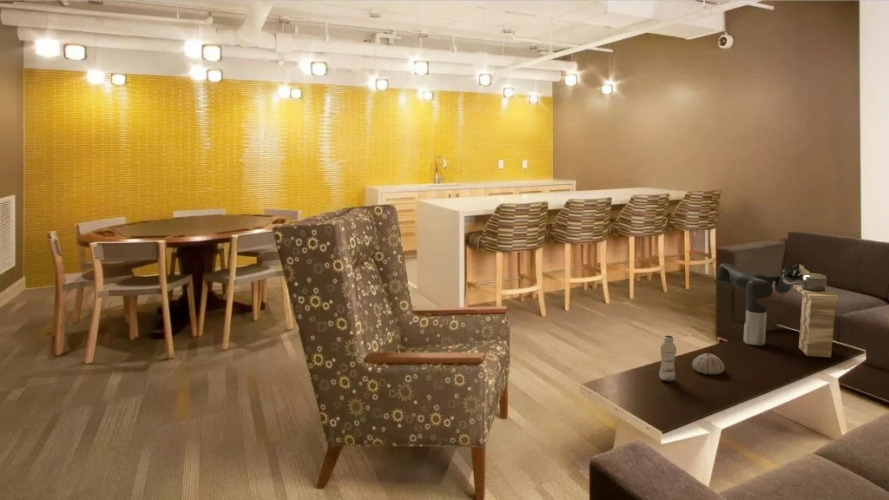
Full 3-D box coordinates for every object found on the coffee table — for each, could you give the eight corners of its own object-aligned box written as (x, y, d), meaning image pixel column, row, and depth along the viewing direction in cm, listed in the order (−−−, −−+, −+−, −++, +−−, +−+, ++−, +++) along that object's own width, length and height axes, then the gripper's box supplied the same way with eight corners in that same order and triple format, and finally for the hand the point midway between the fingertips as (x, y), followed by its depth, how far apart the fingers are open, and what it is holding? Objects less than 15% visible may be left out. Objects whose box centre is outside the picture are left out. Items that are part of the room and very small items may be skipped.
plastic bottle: (656, 377, 243) (657, 335, 239) (670, 376, 243) (672, 334, 240) (663, 383, 236) (664, 339, 233) (678, 382, 237) (679, 338, 234)
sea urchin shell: (726, 378, 240) (726, 360, 239) (692, 374, 245) (693, 357, 244) (722, 367, 252) (723, 350, 251) (690, 364, 257) (691, 348, 256)
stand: (833, 357, 260) (838, 296, 255) (804, 355, 263) (809, 295, 258) (816, 342, 280) (820, 285, 276) (789, 341, 284) (793, 285, 279)
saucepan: (828, 292, 263) (830, 279, 261) (805, 291, 266) (806, 278, 264) (807, 273, 290) (809, 261, 289) (786, 273, 293) (787, 261, 291)
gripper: (776, 269, 304) (786, 259, 288) (804, 269, 300) (816, 259, 284) (777, 282, 301) (787, 272, 286) (806, 282, 297) (817, 273, 282)
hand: (801, 266), depth 285 cm, fingers closed on saucepan, 2 cm apart
